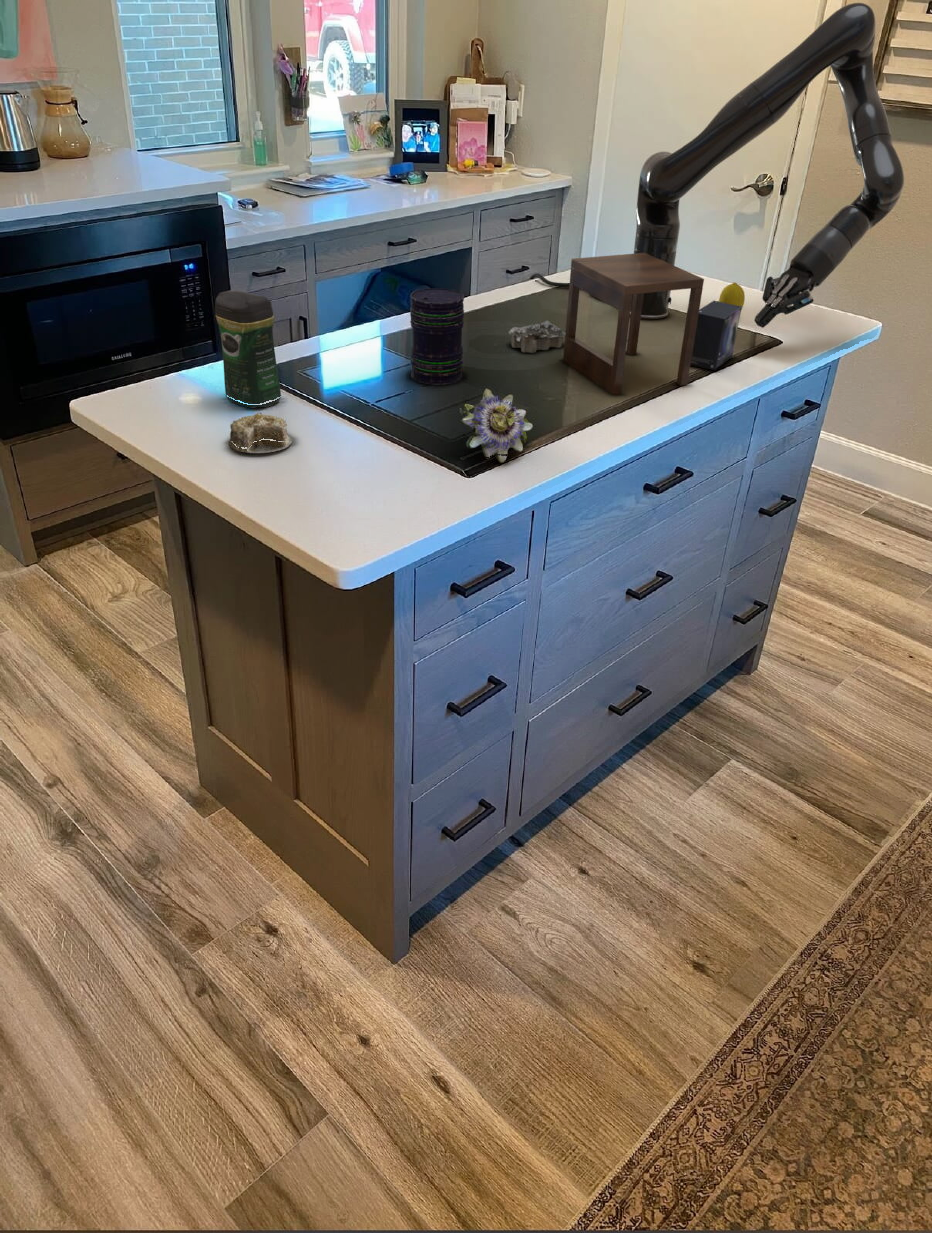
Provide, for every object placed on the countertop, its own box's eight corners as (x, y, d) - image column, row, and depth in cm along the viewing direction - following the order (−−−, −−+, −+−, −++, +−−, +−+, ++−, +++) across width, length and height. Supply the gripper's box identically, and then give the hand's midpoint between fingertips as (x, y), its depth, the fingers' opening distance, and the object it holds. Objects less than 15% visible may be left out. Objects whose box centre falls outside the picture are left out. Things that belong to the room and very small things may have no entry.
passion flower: (499, 491, 151) (473, 449, 141) (461, 456, 157) (433, 413, 147) (552, 445, 151) (529, 399, 141) (512, 411, 157) (487, 365, 147)
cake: (218, 443, 152) (213, 411, 150) (274, 430, 157) (270, 399, 155) (246, 460, 145) (241, 426, 143) (303, 446, 151) (300, 413, 148)
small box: (716, 371, 185) (725, 318, 179) (684, 365, 187) (693, 311, 181) (734, 357, 192) (743, 305, 186) (703, 351, 195) (712, 299, 189)
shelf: (563, 360, 188) (571, 258, 177) (632, 352, 193) (644, 252, 182) (613, 395, 173) (626, 286, 162) (687, 385, 178) (704, 278, 167)
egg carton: (525, 355, 190) (526, 335, 188) (505, 344, 196) (506, 324, 193) (568, 347, 195) (569, 327, 193) (547, 336, 200) (548, 317, 198)
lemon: (744, 318, 215) (751, 282, 210) (736, 324, 211) (742, 287, 206) (720, 313, 217) (727, 278, 213) (712, 319, 213) (718, 283, 209)
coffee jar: (289, 401, 167) (280, 294, 156) (254, 413, 162) (242, 303, 151) (253, 387, 172) (242, 282, 161) (218, 399, 167) (204, 292, 156)
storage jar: (438, 363, 185) (438, 285, 177) (473, 376, 179) (475, 296, 171) (399, 374, 179) (398, 294, 171) (435, 389, 173) (435, 306, 165)
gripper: (851, 277, 184) (787, 346, 187) (806, 261, 194) (746, 326, 197) (836, 250, 179) (770, 321, 182) (791, 235, 189) (729, 303, 192)
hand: (758, 324), depth 189 cm, fingers closed
